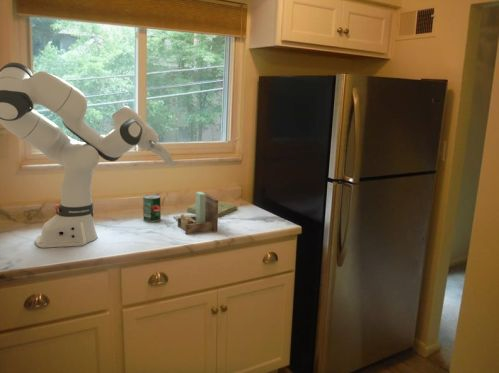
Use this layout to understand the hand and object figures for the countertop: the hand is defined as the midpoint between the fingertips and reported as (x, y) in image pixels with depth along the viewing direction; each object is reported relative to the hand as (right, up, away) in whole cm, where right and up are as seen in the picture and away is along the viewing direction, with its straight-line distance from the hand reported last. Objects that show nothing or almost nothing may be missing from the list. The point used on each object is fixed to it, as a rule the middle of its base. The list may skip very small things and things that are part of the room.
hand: (171, 163), depth 179 cm
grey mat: (+4, -25, +25) cm, 36 cm away
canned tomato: (-13, -25, +24) cm, 37 cm away
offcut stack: (+6, -29, +10) cm, 31 cm away
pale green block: (+10, -28, +13) cm, 33 cm away
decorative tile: (+13, -23, +43) cm, 50 cm away
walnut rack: (+9, -28, +12) cm, 32 cm away
